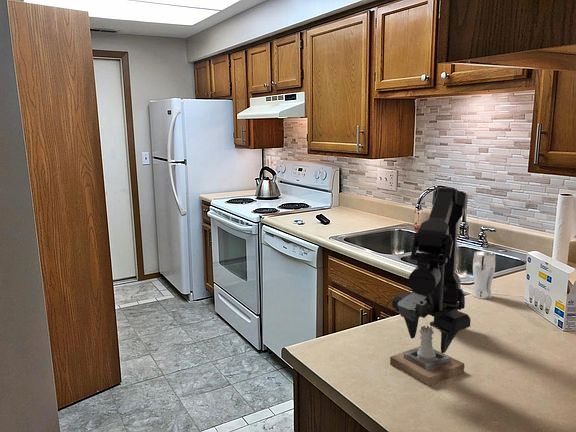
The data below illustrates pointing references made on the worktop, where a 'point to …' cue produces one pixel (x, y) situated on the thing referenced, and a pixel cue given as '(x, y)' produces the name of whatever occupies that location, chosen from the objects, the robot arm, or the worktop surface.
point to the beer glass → (483, 273)
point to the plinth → (427, 366)
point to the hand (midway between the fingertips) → (427, 345)
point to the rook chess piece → (426, 345)
